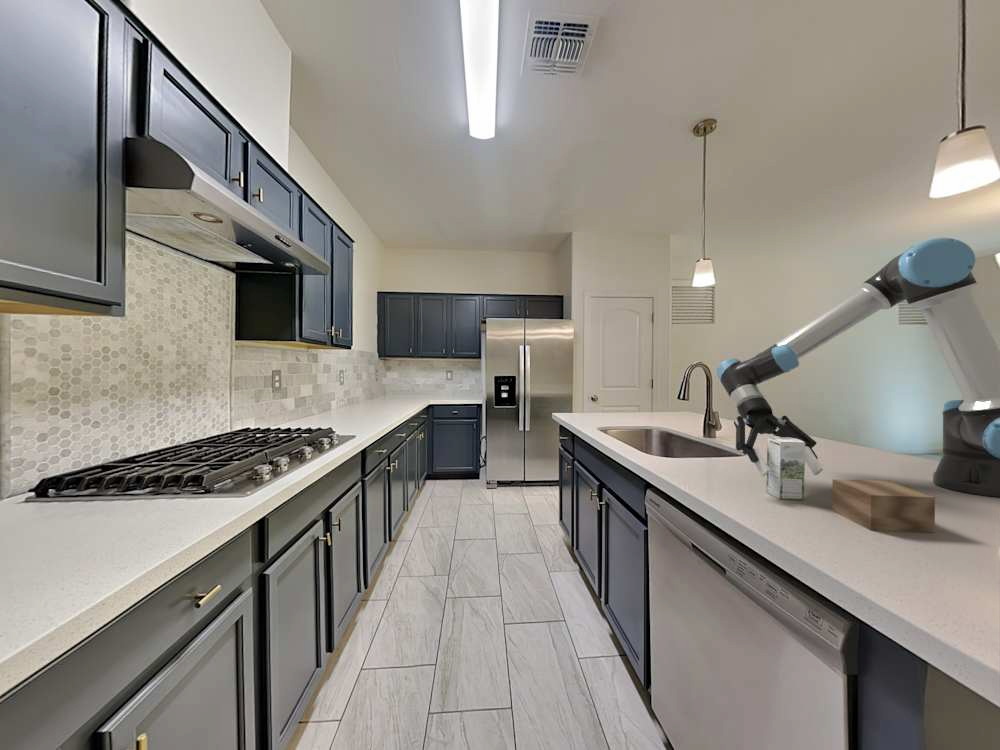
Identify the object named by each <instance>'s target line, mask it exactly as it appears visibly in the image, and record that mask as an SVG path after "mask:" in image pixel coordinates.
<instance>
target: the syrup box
mask: <svg viewBox="0 0 1000 750" xmlns="http://www.w3.org/2000/svg"><path fill="white" fill-rule="evenodd" d="M766 443H767V444H766V446H767V449H766V455H767V456H766V464H767V465H768V467H769V469H770V471H769V472H768V473H767V474H766V493H768V494H769V495H771V496H773V497H775V498H776V499H779V500H789V501H790V500H791V501H792V500H793V501H795V500H796V501H803V500H805V469H806V468H805V465H806V462H805V443H804V442H803V441H801V440H799V439H796V438H781V437H772V436H771V437H767V442H766Z"/></svg>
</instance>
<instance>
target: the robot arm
mask: <svg viewBox="0 0 1000 750" xmlns="http://www.w3.org/2000/svg"><path fill="white" fill-rule="evenodd" d="M975 264H976V256H975V252H974V250H973V249H972V248H971V247H970V245H969V244H967V243H965V242H963V241H961V240H959V239H955V238H950V237H949V238H948V237H937V238H936V237H935V238H931V239H928V240H925V241H922V242H919V243H916V244H915V245H912V246H910V247H909V248H908V249H907V250H905V251H904V252H902V253H901V254H899V255H897V256H895V257H893V259H891V260H890V261H889V262H887V264H886V265H884V266H883V267H882V268H881V269H880V270H878V271H877V272H875V274H873V275H872V276H871V277H869V278H868V279H866V280H865V281H863V282H862V283H861V284H860V285H859V289H858V290H856V291H855V292H853V293H851V294H850V295H848V296H847V297H845V298H844V299H842V300H841V301H839V302H837V303H836V304H835V305H833V306H832V307H830V308H829V309H826V310H825V311H823V312H821V314H819V315H817V316H816V317H814V318H813V319H811V320H810V321H808V322H806V323H805V324H803V325H802V326H801V327H799V328H797V329H796V330H794V331H793V332H791V333H790V334H788V335H786V336H785V337H784V338H782V339H780V340H778V341H777V342H776V343H775V344H773V345H771V346H770V347H768V348H767V349H765V350H763V351H762V352H759V353H757V354H756V355H755V356H752V358H749V359H747V360H743V361H741V360H740V359H738V358H731V359H725V360H724V361H722V362H721V363H719V365H718V366H717V368H716V374H717V377H718V378H719V381H720V383H721V384H722V386H723V388H724V390H725V392H726V393H727V394H728V396H729V399H730V400H731V402H732V403H733V405H734V407H735V409H736V410H737V413H738V414H739V416H737V417H736V418H735V420H734V422H733V424H734V426H735V449H736V451H741V452H742V453H743V454H744V455H747V456H748V459H749V460H750V462H751V463H754V465H755V467H756V469H757V470H758V472H759V473H760V476H761V477H765V476H767V473H768V472H769V471H770V469H769V467H768V465H767V461H766V460H765V458H764V457H763V454H762V453H761V452H760V449H759V447H754V445H755V443H756V440H757V437H758V435H764V434H767V435H773V436H774V437H778V438H796V439H799V440H801V441H803V442H804V443H805V464H807V465H806V466H807V467H808V468H809V469H810V471H811V472H812V474H813V476H818V475H819V474H820V473H821V472H822V471H824V468H823V466H822V464H821V463H820V462H819V460H818V455H817V454H816V453H815V451H814V450H813V448H814V447H815V446H816V445H817V442H816V440H814V439H813V438H812V437H811V436H809V435H808V434H806V433H805V432H804V430H802V429H800V427H798V426H797V425H796V424H795V423H793V422H792V421H791V420H790V419H789V418H788V416H787V415H782V416H781V417H776V416H775V414H773V408H772V407H771V405H770V404H769V402H768V400H767V399H766V397H765V396H764V394H763V393H762V391H761V390H760V389H759V387H758V385H759V384H761V383H763V382H766V381H768V380H772V379H773V378H776V377H778V376H781V375H784V374H786V373H789V372H790V371H792V370H795V369H797V368H798V367H799V366H800V362H799V360H800V359H801V358H803V357H805V356H807V355H808V354H810V353H811V352H813V351H814V350H816V349H818V348H820V347H822V346H823V345H824V344H827V343H829V341H831V340H832V339H835V338H836V337H838V336H839V335H841V334H843V333H845V332H846V331H848V330H850V329H851V328H852V327H854V326H855V325H857V324H859V323H861V322H862V321H864V320H866V319H867V318H869V317H870V316H872V315H874V314H875V313H877V312H879V311H881V310H889V309H891V308H892V307H894V306H896V305H898V304H899V303H901V302H904V301H906V302H907V305H908V306H910V307H913V308H917V309H919V310H920V312H921V313H922V315H923V317H924V320H925V321H926V324H927V326H928V328H929V329H930V332H931V334H932V336H933V338H934V340H935V342H936V345H937V347H938V348H939V351H940V353H941V355H942V357H943V359H944V362H945V363H946V365H947V367H948V369H949V371H950V373H951V376H952V377H953V379H954V382H955V384H956V386H957V388H958V390H959V392H960V394H961V397H962V398H963V399H954V400H953V399H952V400H949V401H948V400H947V401H946V402H945V403H944V404H943V410H942V412H941V413H942V456H941V458H940V460H939V462H938V464H937V466H936V470H935V471H934V472H933V474H932V483H933V484H934V485H937V486H938V487H941V488H945V489H947V490H951V491H956V492H962V493H968V494H973V495H979V496H986V497H987V496H988V497H998V498H1000V348H999V346H998V345H997V342H996V341H995V338H994V336H993V334H992V332H991V331H990V328H989V326H988V324H987V322H986V320H985V319H984V317H983V315H982V312H981V309H979V306H978V305H977V303H976V301H975V299H974V297H973V295H972V294H973V293H972V292H973V291H974V289H975V288H976V286H977V285H978V282H977V280H976V279H975V277H974V274H973V272H972V271H973V269H974V266H975ZM746 426H747V427H748V428H750V431H749V433H748V437H747V440H746ZM777 428H778V429H777Z"/></svg>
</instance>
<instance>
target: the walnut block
mask: <svg viewBox="0 0 1000 750" xmlns="http://www.w3.org/2000/svg"><path fill="white" fill-rule="evenodd" d="M831 482H832V490H831V492H832V493H831V494H832V496H831V497H832V499H831V500H832V501H831V503H832V505H831V508H832V509H831V511H833V512H835V513H836V514H838V515H840V516H842V517H844V518H846V519H847V520H850V521H852V522H854V523H856V524H858V525H859V524H860V526H861V525H862V526H861V527H863V526H864V527H863V528H865V529H867V530H868V531H872V530H873V531H874V532H877V531H878V532H896V531H900V532H902V533H919V532H921V534H922V533H925V534H935V531H936V530H935V528H936V527H935V524H936V521H935V519H936V518H935V516H936V515H935V513H936V497H935V496H933V495H929V494H927V493H924V492H922V491H918V490H916V489H912V488H909V487H907V486H903V485H901V484H897V483H896V482H892V481H890V480H889V481H888V480H870V479H868V480H867V479H865V480H864V479H863V480H862V479H832V480H831Z"/></svg>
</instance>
